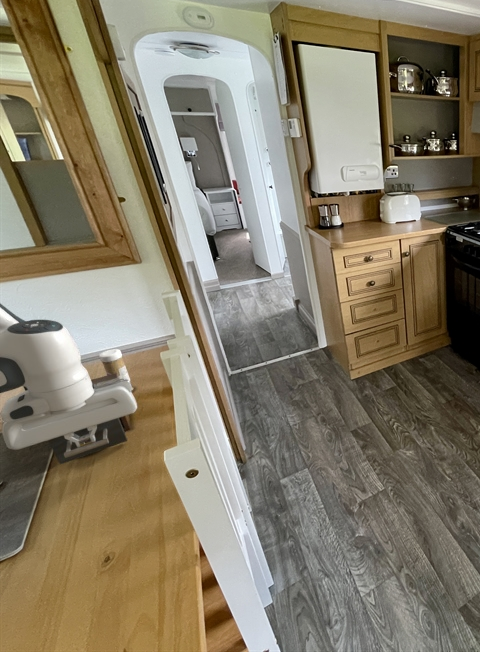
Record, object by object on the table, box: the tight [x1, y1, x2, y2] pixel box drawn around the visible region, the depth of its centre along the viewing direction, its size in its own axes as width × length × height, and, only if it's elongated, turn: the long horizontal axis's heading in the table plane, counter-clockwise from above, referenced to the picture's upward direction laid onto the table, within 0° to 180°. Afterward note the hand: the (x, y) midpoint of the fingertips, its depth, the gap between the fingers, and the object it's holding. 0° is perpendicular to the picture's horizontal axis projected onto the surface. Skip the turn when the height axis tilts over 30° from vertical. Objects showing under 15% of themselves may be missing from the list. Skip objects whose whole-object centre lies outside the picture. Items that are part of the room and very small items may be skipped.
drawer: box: [47, 417, 128, 465], centre depth 90 cm, size 19×12×8 cm, turn 42°
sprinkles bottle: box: [98, 348, 134, 391], centre depth 109 cm, size 5×5×14 cm
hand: (86, 443), depth 85 cm, fingers closed
